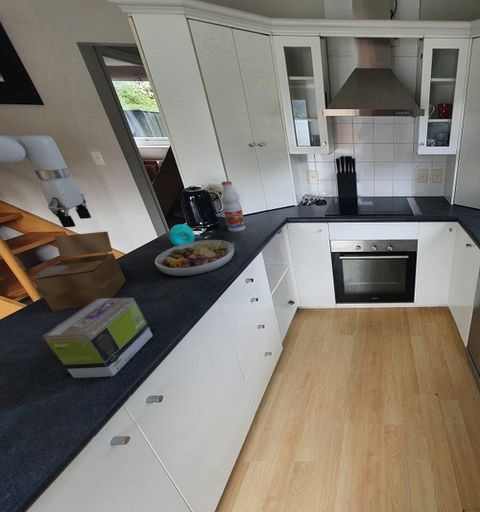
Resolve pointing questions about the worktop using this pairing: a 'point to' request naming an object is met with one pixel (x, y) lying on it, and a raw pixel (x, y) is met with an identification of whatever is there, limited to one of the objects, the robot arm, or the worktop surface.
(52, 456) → the worktop surface
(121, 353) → the tea box
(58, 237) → the flap
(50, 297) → the carton
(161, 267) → the bowl
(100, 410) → the worktop surface
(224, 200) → the fruit juice
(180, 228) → the cyan donut
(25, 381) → the worktop surface
